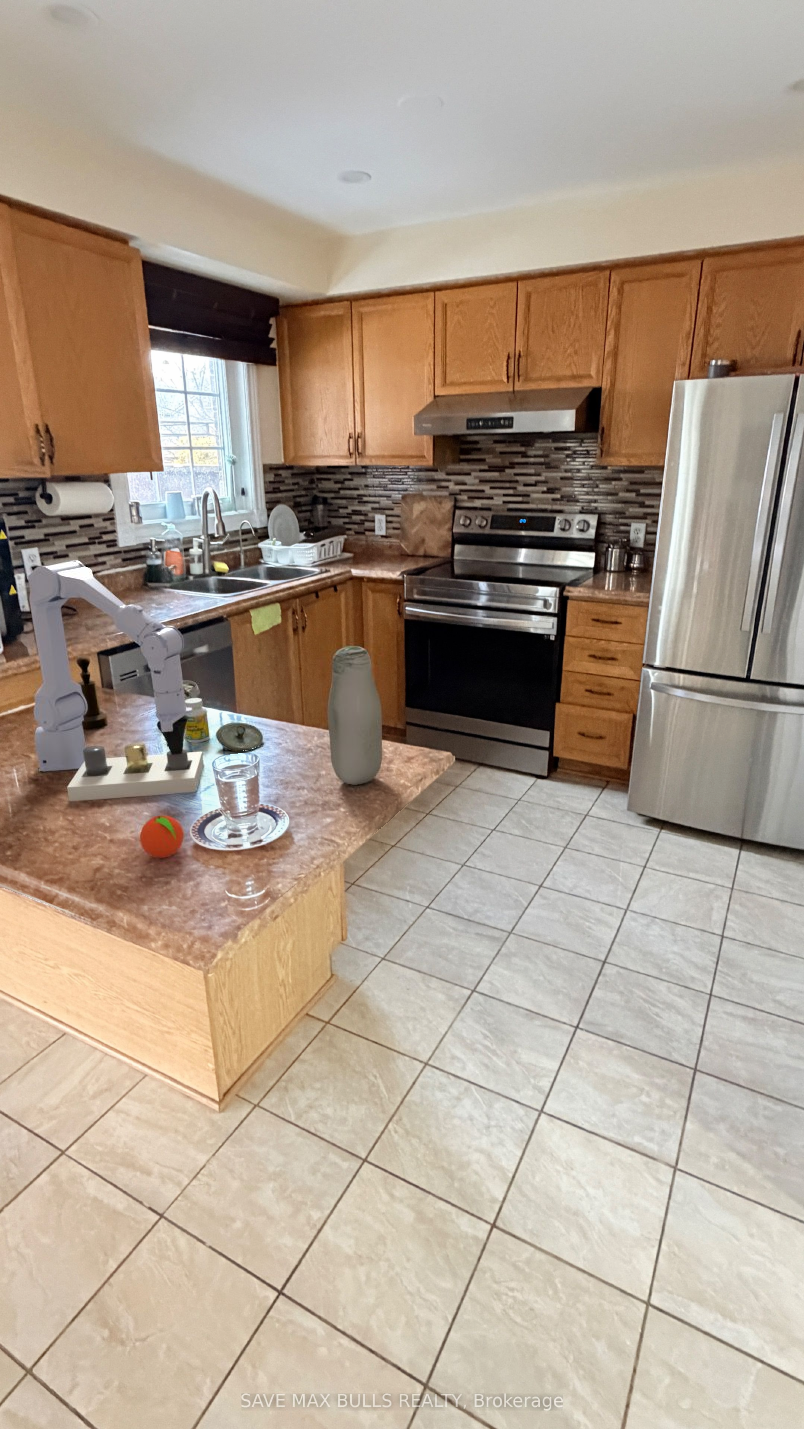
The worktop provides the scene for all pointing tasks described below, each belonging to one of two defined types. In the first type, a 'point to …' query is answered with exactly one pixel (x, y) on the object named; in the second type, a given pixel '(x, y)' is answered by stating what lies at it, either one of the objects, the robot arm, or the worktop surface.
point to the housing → (136, 779)
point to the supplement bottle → (196, 722)
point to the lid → (239, 736)
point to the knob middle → (136, 758)
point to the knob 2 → (177, 761)
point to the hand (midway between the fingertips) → (176, 752)
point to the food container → (190, 689)
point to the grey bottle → (354, 717)
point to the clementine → (161, 836)
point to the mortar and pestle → (90, 697)
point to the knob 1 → (95, 760)
